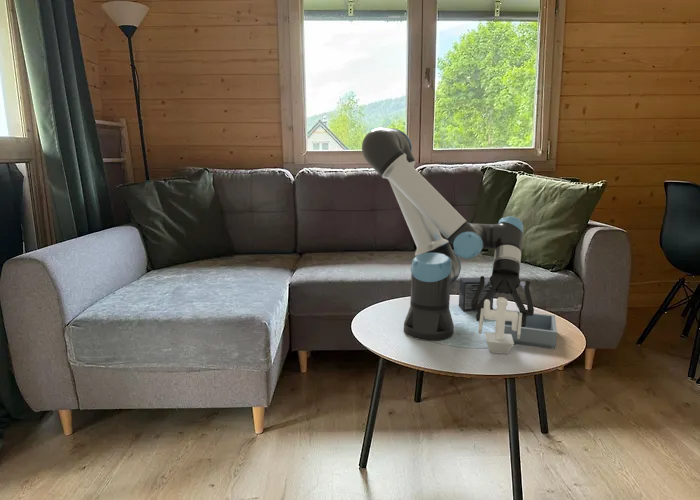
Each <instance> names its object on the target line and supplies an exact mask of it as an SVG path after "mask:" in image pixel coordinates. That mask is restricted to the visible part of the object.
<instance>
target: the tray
mask: <svg viewBox="0 0 700 500" xmlns="http://www.w3.org/2000/svg"><path fill="white" fill-rule="evenodd" d="M506 311H513V309H512V310H509V309H506ZM514 311H515V312H517V313H518V315H519V313H520V311H519V310H514ZM556 322H557V321H556V315H553V314H548V313H547V314H544V313H536V312H534V314H533V316H527V317H526V326H525V327H521V333H520V339H517V333H518V330H517V331H513V330H512V321H505V329H504V334H511V335H512V338H513V342H514V345H519V346H520V345H521V346H528V347H534V348H542V349H543V348H544V349H552V350H556V347H557V346H556V345H557V337H558V336H557V335H558V329H557V323H556Z"/></svg>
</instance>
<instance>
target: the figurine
mask: <svg viewBox="0 0 700 500" xmlns="http://www.w3.org/2000/svg"><path fill="white" fill-rule="evenodd" d="M507 307H508V299H507V298H506V297H502V296H501V297H500V296H499V297H497V299H496V309H493V310H491V309H490V300H488V299H486V300H485V301H484V310H483V315H484V318H483V319H484V320H489V321H492V320H493V321H495V327H494V332H493V331H492V332H490V331H489V332H488V331H484V335H485V336H484V337H485V339H486V343H487V347H488V349H489V352H490V353H491V354H503V355H508V353H509V352H510V351H511V350H512V348H513V347H514V345H515V344H514V342H513V338H512V335H511V334H504V329H505V321H512V330H513V331H517V330H518V322H519V315H518V313H517V312H515V311H516V310H512V311H506V310H507Z"/></svg>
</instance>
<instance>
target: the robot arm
mask: <svg viewBox="0 0 700 500" xmlns="http://www.w3.org/2000/svg"><path fill="white" fill-rule="evenodd" d="M361 143H362V144H361V153H362V156H363V158H364V159H365V161H366V163H367V164H368V165H370V167H371V168H373V170H374V171H375V172H376V173H377V174H378V175H379V176H380V177H381V178H382V179H387V181H388V182H389V184H390V187H391V189H392V192H393V194H394V196H395V198H396V202H397V204H398V205H399V208H400V210H401V213H402V215H403V218H404V221H405V222H406V225H407V227H408V229H409V231H410V234H411V236H412V239H413V241H414V244H415V246H416V250H415V253H414V256H415V257H414V258H413V259H412V260H411V261H412V262H411V266H410V272H411V275H410V278H411V280H410V303H409V304H410V305H409V309H408V311H407V313H406V316H405V319H404V322H403V332H404V333H405V334H406V335H407V336H408V337H411V338H414V339H417V340H421V341H422V340H423V341H443V340H448V339H450V338H451V337H453V336H454V333H455V332H454V331H455V326H454V321H453V319H452V318H453V317H452V314H451V311H450V298H451V287H452V285H453V284H454V282H455V281H457V280H458V278H459V275H460V274H461V269H462V264H461V263H462V262H461V259H460V258H463V259H467V260H468V259H469V260H470V259H473V258H474V257H476V256H478V255H479V254H480V253H481V252H482V250H483V249H491V250H492V249H494V253H493V254H494V255H493V264H492V273H491V276H490V277H488V278H485V276H483V275H482V276H481V275H480V277H479V278H480V284H479V286H478V289H477V291H476V293H475V295H474V297H473V300H472V302H471V308H472V309H476V310H477V311H476V314H475V321H476V322H479V323H478V329H477V331H478V334H479V335H482V332H483V324H484V319H485V318H484V315H483V310H484V301H485V300H486V299H488V300H491V299H492V297H493V298H494V296H496V295H497V294H506V295H511V298H512V299H513V301H514V303H515V305H516V307H517V309H518V311H520V313H519V322H518V333H517V339H520V333H521V327H525V326H526V317H527V316H533V314H534V313H535V309H534V308H535V307H534V303H533V300H532V299H533V298H532V295H531V290H530V287H531V286H530V285H531V281H530V280H526V281H523V280H521V279H520V271H521V266H520V265H521V261H522V250H523V249H522V248H523V241H524V240H523V239H524V224H523V221H522V220H521V219H520V218H518V217H516V216H512V215H511V216H506V217H502V218H500V219H499V220H498V223H494V224H493V223H492V224H489V223H487V224H486V223H473V222H472V223H471V222H468V221H467V220H466V218H464V217H463V216H462V215H461V214H460V213H459V211H457V210H456V208H454V207H453V206H452V205H451V203H450V202H449V201H447V200H446V198H445V197H444V196H442V194H441V193H440V192H439V191H438V190H437V189H436V188H435V187H434V186H433V185H432V183H430V182H429V181H428V180H427V179H426V178H425V177H424V176H423V175H422V174H421V173H420V172H419V171H418V170H417V169H416V168H415V167H414V166H415V164H416V160H415V157H414V155H413V153H412V152H413V151H412V150H413V145H412V141H411V139H410V137H409V136H408V135H407V133H405V132H403V131H402V130H400V129H397V128H394V127H393V128H392V127H389V128H385V127H377V128H374V129H372V130H370V131H369V132H368V133H367V134H366V135H365V136H364V138H363V140H362V142H361ZM442 235H443V236H444V237H445V238H443V237H442ZM451 245H452V246H453V249H452V246H451ZM489 282H490V283H491V285H492V287H491V289H490V290H489V292H488V293H487V294H486V295H485V297H484V298H483V299H482V300H481V301H480V303H479V304H477V303H478V301H479V299H480V297H481V295H482V292H483V290H484V287H485V286H486V285H487V284H488V283H489ZM519 287H521V289H522V290H523V292H524V298H525V302H526V306H527V307H525V305H524V303H523V301H522V299H521V297H520V295H519V293H518V291H517V289H518V288H519Z"/></svg>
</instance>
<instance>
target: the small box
mask: <svg viewBox="0 0 700 500" xmlns="http://www.w3.org/2000/svg"><path fill="white" fill-rule="evenodd" d="M484 278H489V277H486V276H484ZM479 284H480V277H460V278H459V287H458V288H459V292H458V293H459V295H458V307H459V308H460V309H461V311H463V312H477V310H476V309H472V308H471V302H472V300H473V297H474V295H475V293H476V291H477V289H478V286H479ZM491 287H492V285H491V283H490V282H489V283H488V284H487V285H486V286H485V287H484V290H483V292H482V295H481V297H480V299H479V301H478V303H477V304H479V303H480V301H481V300H482V299H483V298H484V297H485V295H486V294H487V293H488V292H489V290H490V289H491ZM490 309H491V310H494V296H493V297H492V299H491V300H490Z"/></svg>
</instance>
